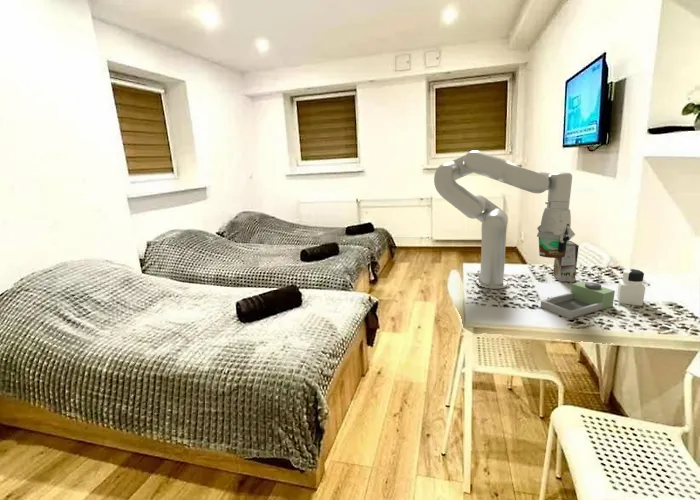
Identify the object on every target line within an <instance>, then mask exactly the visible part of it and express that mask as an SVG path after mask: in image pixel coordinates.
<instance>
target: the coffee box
mask: <svg viewBox="0 0 700 500" xmlns="http://www.w3.org/2000/svg"><path fill="white" fill-rule="evenodd" d="M579 246H580V245H579V244H577V243H575V242H573V241H572V240H569V241H568V242H567V246H566V252H565V257H562V258H554V259H553V260H554V262H553V272H552V273H553V274H552V275H553V276H554V277H555V278H556V279H557V280H558V281H559V282H573V283H576V282H575V281H576V274H577V273H576V272H577V265H578V256H579V249H580V248H579Z"/></svg>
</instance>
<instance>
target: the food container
mask: <svg viewBox="0 0 700 500" xmlns="http://www.w3.org/2000/svg"><path fill="white" fill-rule="evenodd" d="M537 231H538V230H537ZM564 234H565V233H564ZM566 234H567V232H566ZM568 235H569V234H568ZM568 235H567V236H568ZM536 237H538V253H539V254H538V255H539V257H541V258H542V257H543V258H548V259H549V258H550V259H555V258H562V257H565V252H566V249H565V252H561V253H559V252H558V247H559V242H561V241H560V236H556V235H554V233H544V232H539V231H538V232H537V235H536ZM563 238H565V236H563ZM566 246H567V242H566Z"/></svg>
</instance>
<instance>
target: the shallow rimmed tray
mask: <svg viewBox="0 0 700 500" xmlns="http://www.w3.org/2000/svg"><path fill="white" fill-rule="evenodd" d="M570 291H571V292H568V293H564V294H561V295H557V296H554V297H550V298H546V299H543V300H540V308H542V309H545V310H548V311H550V312H552V313H554V314H556V315H560V316H561V317H564V318H567V319H569V320H573V319H576V318H579V317H582V316H585V315H586V316H587V315H589V314H592V313H594V312H595V313H596V312H599V311H603V310H605V309H608V308H611V307H613V306H614V299H615V293H616V291H615V290H614V289H612V288H611V289H610V288H607V287H603V286H602V284H601V283H599V282H598V283H597V282H591V281H590V282H589V281H588V282H587V281H579V282H573V283H571V290H570Z"/></svg>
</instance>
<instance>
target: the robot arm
mask: <svg viewBox="0 0 700 500" xmlns="http://www.w3.org/2000/svg"><path fill="white" fill-rule="evenodd" d="M473 173H474V174H477V175H481V176H483V177H486V178H489V179H492V180H495V181H497V182H500V183H502V184H503V183H504V184H506V185H509V186H512V187H514V188H517V189H520V190H522V191H523V190H524V191H526V192H529V193H533V194H541V193H544V192H546V191H547V192H548V194H547V200H546V201H545V205H546V207H544V209H543V213H542V217H541V220H540V225H539V226H537V228H536V229H537V231H539V232H544V233H554V235H556V236H560V241H561V242H559V247H558V252H559V253H561V252H565V249H566V242H568V241H571V239H573V238H574V237H575V236H576V234H575V232H574V231H573V229H572V227H571V225H572V224H571V223H572V216H571V209H570V202H571V201H570V200H571V193H572V184H573V175H572V173H571V172H543V171H534V170H531V169H527V168H525V167H522V166H519V165H517V164H515V163H513V162H512V161H510V160H508V159H505V158H501V157H497V156H493V154H488V153H485V152H482V151H481V150H477V149H476V150H470V151H468V152H467V153H466V154H465V155H462V156H460V157H458V158H455V159H453V160H451V161H449V162H444V163H442V164H440V165H439V166H438V167H437V168H436V170H435V172H434V176H433V183H434V187H435V189H436V191H437V193H438V194H439V195H440V196H441V197H442V199H444V200H445V201H446V202H448V203H449V204H451V205H452V207H454V208H456V209H457V210H458V211H460V212H461V213H462V214H463V215H464V216H466V217H467V218H468V219H472V220H473V219H475V220H478V221H479V222H480V223H481V248H480V249H481V251H480V269H479V270H477V271H476V272H475V276H477V277H478V279H476V281H475V282H476V283H477V284H478V285H479V286H478V285H477V284H476V283H475V284H476V285H477V286H478V287H480V286H482V287H481V288H483V287H485V288H484V289H488V288H489V289H490V290H499V289H504V288H506V287H508V282H507V281H506V280H505V279H504V278H505V265H506V264H505V261H506V246H507V245H506V241H507V228H508V221H509V217H508V215H507V213H506V212H505V210H503V209H501V208H500V206H499V207H498V205H496V204H495V203H493V202H492V201H491V200H489V199H488V198H487V197H485V196H484V195H481V194H478V193H477V194H475V193H474V194H473V193H472V192H470V191H469V190H467V189H466V188H465V187H463V186H462V185H460V184H459V183H458V182H457V180H459V179H461V178H464V177H466V176H468V175H471V174H473ZM566 232H567V234H566ZM564 233H565V234H564ZM568 234H569V235H568ZM567 235H568V236H567ZM563 236H565V238H563Z"/></svg>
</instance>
